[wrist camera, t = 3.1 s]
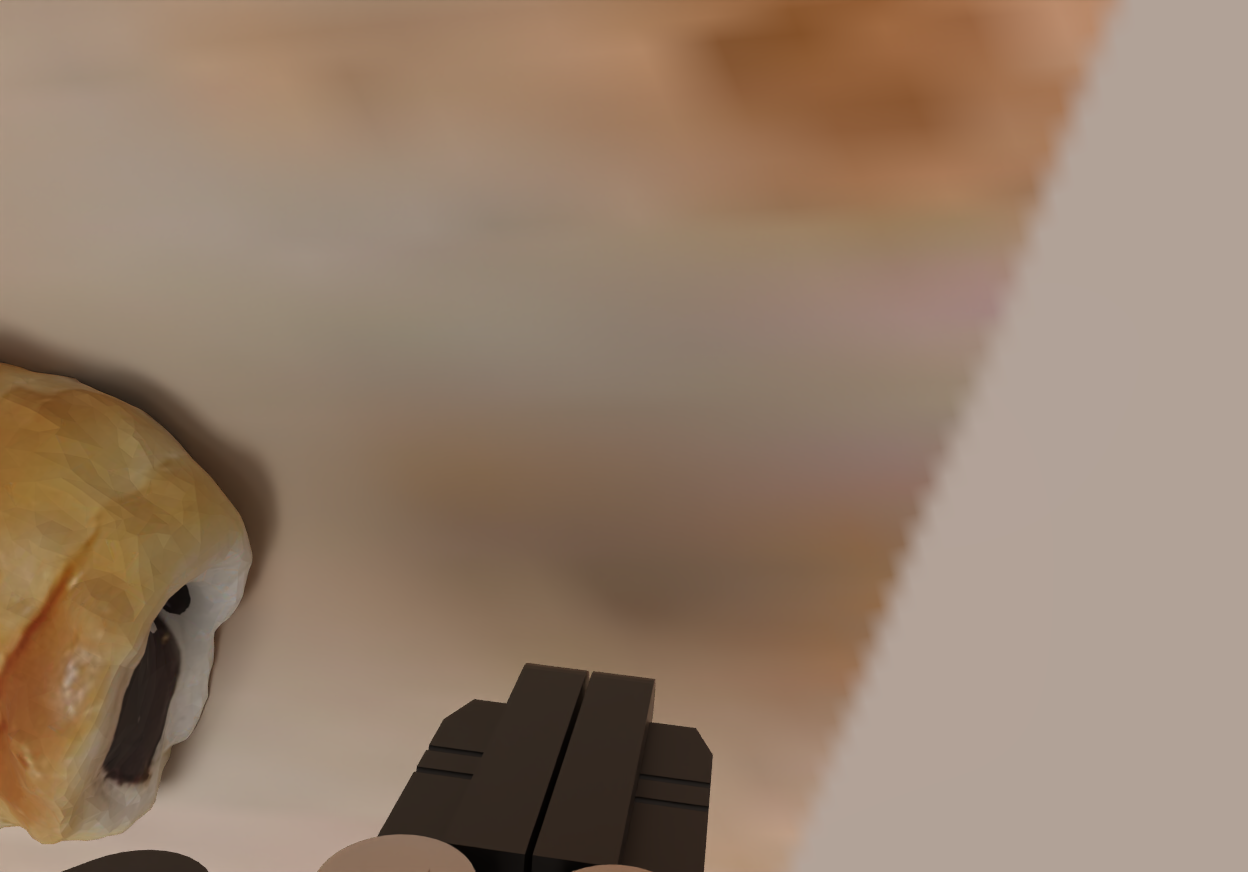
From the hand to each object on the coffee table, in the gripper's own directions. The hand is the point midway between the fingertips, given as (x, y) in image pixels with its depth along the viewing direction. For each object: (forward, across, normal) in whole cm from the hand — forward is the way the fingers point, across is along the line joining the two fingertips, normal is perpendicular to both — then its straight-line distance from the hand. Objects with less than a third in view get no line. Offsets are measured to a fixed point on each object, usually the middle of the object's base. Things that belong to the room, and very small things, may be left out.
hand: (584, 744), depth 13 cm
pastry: (+4, +10, 0) cm, 11 cm away
